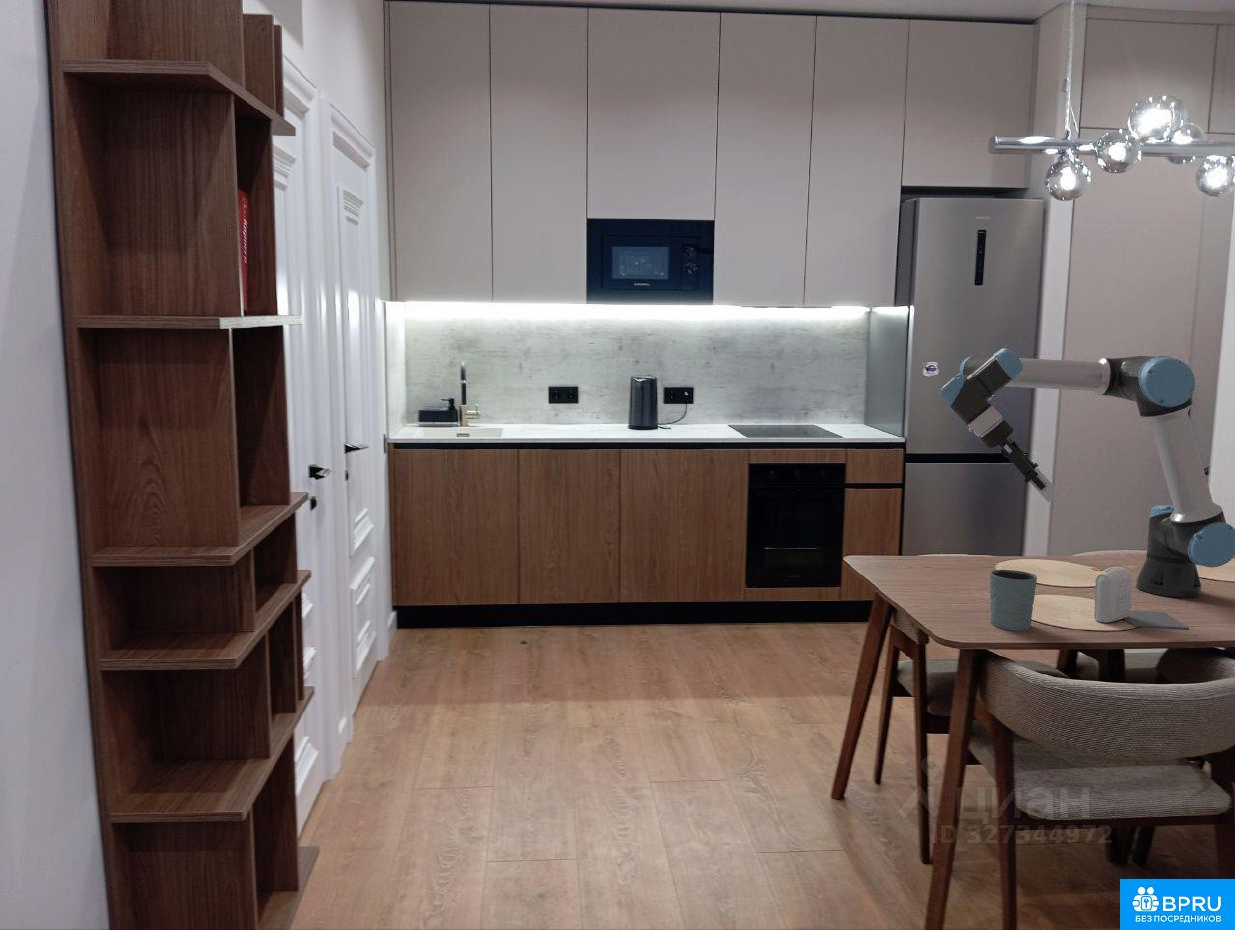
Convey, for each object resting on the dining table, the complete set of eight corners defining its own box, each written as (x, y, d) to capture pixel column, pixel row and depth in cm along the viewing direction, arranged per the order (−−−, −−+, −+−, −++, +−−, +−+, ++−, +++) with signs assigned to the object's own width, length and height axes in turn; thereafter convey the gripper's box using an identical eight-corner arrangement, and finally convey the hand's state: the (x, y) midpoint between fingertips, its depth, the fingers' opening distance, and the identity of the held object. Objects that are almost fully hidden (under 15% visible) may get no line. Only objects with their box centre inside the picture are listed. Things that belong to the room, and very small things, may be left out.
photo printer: (1115, 612, 237) (1117, 562, 235) (1133, 616, 233) (1135, 565, 232) (1091, 620, 231) (1092, 569, 230) (1108, 624, 227) (1110, 572, 226)
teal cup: (1009, 633, 219) (1013, 581, 218) (976, 620, 229) (980, 570, 227) (1043, 628, 223) (1047, 577, 222) (1009, 616, 233) (1013, 567, 231)
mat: (1164, 613, 238) (1164, 612, 238) (1188, 629, 226) (1189, 627, 226) (1112, 610, 240) (1112, 609, 240) (1134, 626, 227) (1134, 624, 227)
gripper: (980, 434, 254) (1037, 497, 250) (977, 442, 231) (1040, 512, 227) (1004, 415, 251) (1062, 478, 248) (1003, 421, 228) (1068, 491, 225)
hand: (1052, 494), depth 237 cm, fingers open, 13 cm apart
